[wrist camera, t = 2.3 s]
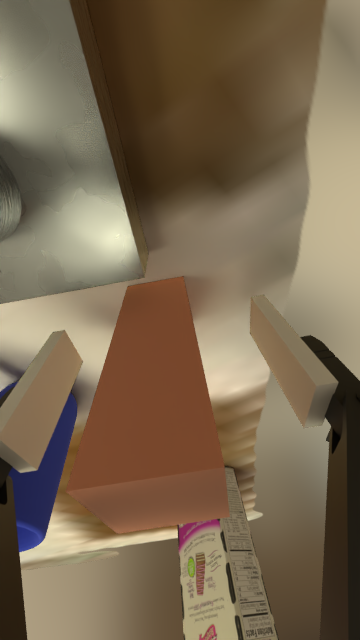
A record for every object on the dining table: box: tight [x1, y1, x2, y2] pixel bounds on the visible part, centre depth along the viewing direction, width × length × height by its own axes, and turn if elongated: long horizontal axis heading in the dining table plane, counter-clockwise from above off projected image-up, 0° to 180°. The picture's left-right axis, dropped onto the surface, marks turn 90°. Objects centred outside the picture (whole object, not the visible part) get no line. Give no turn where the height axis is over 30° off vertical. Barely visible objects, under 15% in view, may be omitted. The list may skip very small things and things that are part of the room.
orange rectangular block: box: [66, 276, 230, 534], centre depth 11 cm, size 4×4×12 cm
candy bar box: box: [177, 466, 279, 640], centre depth 28 cm, size 11×5×16 cm, turn 153°
